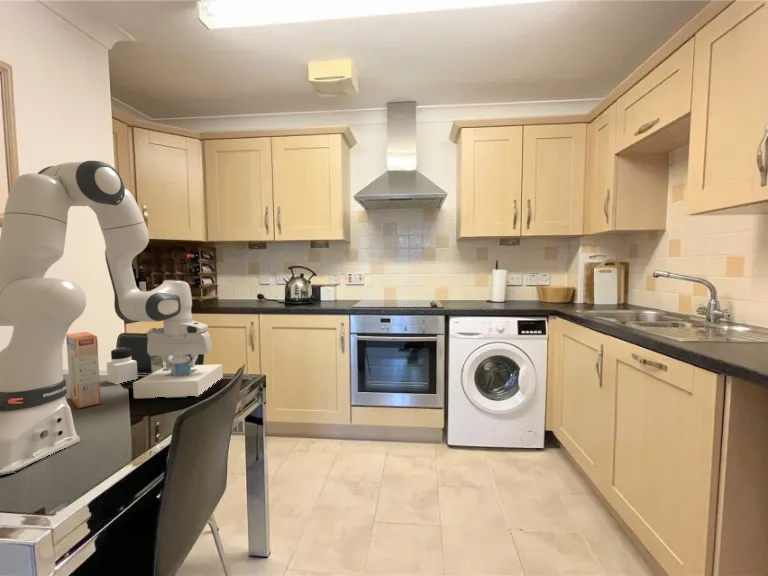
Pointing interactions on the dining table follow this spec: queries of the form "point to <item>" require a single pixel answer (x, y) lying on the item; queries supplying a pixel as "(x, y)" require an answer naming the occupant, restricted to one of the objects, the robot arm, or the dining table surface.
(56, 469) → the dining table surface
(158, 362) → the syrup box
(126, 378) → the medicine bottle
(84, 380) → the cracker box
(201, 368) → the socket block
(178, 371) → the pill bottle
